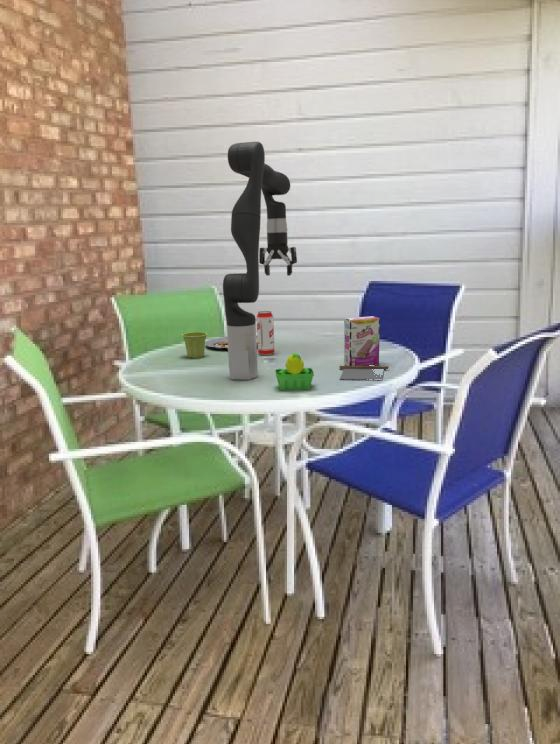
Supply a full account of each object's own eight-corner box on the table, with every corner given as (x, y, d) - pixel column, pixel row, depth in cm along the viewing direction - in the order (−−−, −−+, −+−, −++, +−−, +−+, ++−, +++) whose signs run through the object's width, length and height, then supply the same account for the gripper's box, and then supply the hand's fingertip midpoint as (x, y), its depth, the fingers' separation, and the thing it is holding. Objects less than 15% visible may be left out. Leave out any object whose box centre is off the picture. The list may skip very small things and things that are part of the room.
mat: (382, 380, 200) (382, 379, 200) (339, 379, 203) (339, 378, 203) (383, 370, 213) (383, 369, 213) (344, 369, 216) (344, 368, 215)
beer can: (275, 352, 247) (274, 310, 244) (273, 355, 241) (272, 312, 238) (259, 352, 248) (257, 310, 244) (257, 356, 242) (255, 313, 238)
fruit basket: (312, 383, 200) (311, 347, 197) (315, 391, 191) (314, 353, 189) (275, 385, 199) (274, 349, 197) (276, 392, 191) (274, 355, 188)
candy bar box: (350, 369, 216) (349, 320, 212) (343, 366, 221) (343, 318, 217) (380, 365, 220) (380, 317, 216) (373, 362, 225) (373, 315, 221)
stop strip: (388, 370, 213) (388, 366, 212) (339, 369, 216) (339, 366, 215) (388, 369, 213) (388, 366, 213) (339, 369, 217) (339, 365, 216)
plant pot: (205, 353, 251) (204, 331, 249) (210, 357, 242) (209, 334, 240) (181, 355, 248) (180, 333, 246) (185, 360, 239) (184, 337, 237)
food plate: (260, 337, 278) (260, 329, 277) (273, 348, 256) (272, 339, 255) (202, 344, 272) (201, 335, 272) (210, 355, 250) (209, 346, 250)
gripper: (255, 232, 240) (257, 276, 244) (291, 231, 235) (292, 276, 239) (263, 231, 247) (265, 274, 251) (298, 230, 242) (299, 274, 246)
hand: (278, 275), depth 245 cm, fingers open, 8 cm apart
